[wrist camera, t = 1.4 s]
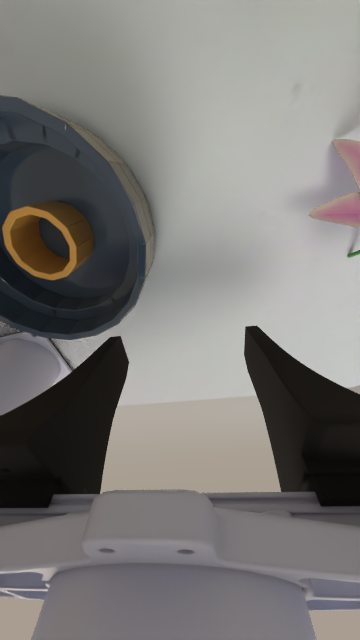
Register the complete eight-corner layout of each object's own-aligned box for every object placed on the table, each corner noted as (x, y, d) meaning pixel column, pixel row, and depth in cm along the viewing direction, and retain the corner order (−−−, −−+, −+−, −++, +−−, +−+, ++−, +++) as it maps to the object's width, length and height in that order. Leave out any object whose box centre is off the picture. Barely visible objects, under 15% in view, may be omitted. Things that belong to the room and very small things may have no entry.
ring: (54, 269, 21) (31, 286, 18) (20, 212, 18) (-14, 219, 15) (104, 255, 20) (88, 270, 17) (75, 193, 17) (51, 197, 14)
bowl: (68, 331, 25) (44, 362, 21) (-70, 197, 18) (-148, 204, 14) (187, 265, 20) (186, 289, 16) (63, 53, 14) (7, -1, 9)
